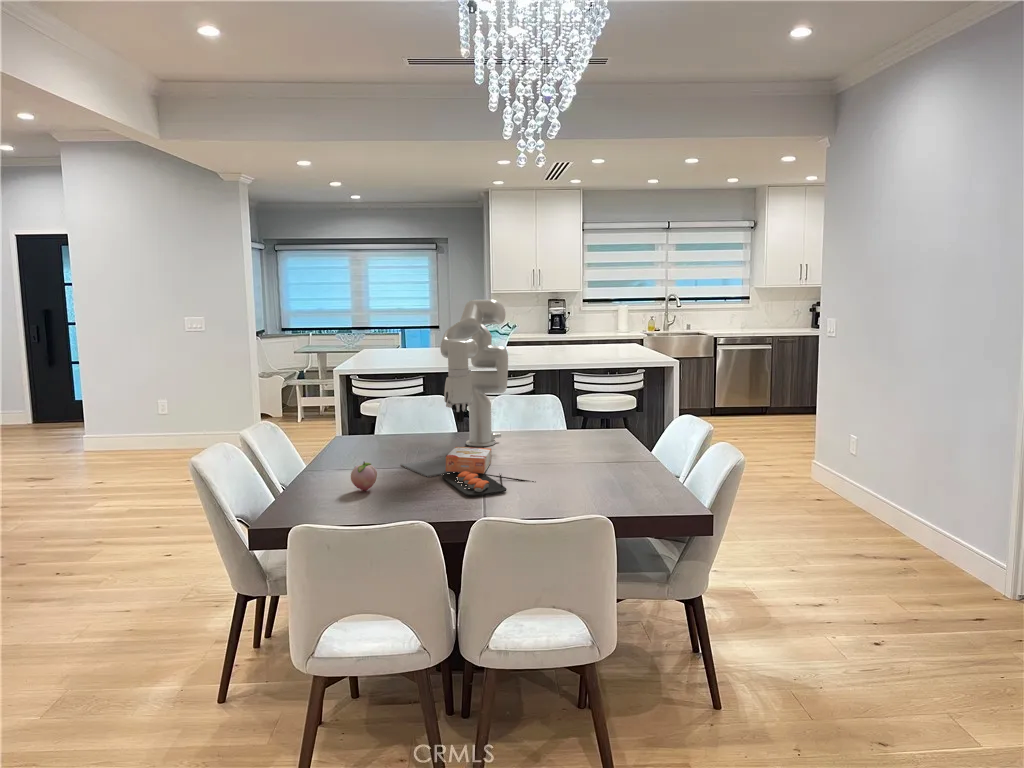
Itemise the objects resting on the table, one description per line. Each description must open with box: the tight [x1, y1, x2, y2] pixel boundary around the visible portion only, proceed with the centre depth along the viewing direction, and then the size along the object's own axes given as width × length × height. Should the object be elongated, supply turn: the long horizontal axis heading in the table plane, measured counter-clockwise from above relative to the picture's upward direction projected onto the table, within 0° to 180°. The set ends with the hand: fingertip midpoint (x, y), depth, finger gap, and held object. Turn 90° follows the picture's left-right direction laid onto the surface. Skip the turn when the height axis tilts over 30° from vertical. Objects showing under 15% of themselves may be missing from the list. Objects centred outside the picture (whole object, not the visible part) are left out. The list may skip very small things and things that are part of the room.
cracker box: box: [445, 446, 492, 474], centre depth 257 cm, size 14×6×21 cm
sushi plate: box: [441, 471, 535, 497], centre depth 239 cm, size 29×30×4 cm
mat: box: [400, 456, 453, 478], centre depth 262 cm, size 22×22×1 cm
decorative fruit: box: [350, 461, 378, 492], centre depth 230 cm, size 9×8×10 cm
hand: (459, 421), depth 265 cm, fingers closed
